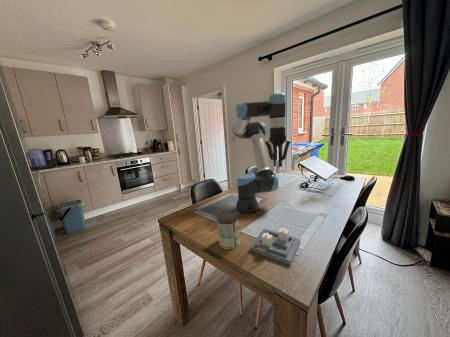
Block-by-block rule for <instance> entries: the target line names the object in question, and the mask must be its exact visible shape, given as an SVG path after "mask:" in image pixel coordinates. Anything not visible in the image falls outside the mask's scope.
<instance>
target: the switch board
mask: <svg viewBox="0 0 450 337" xmlns="http://www.w3.org/2000/svg"><path fill="white" fill-rule="evenodd" d="M267 232H268V233H269V234H270V235H273V245H272V247H268V246H265V245H262V238H261V236H262V235H263V233H267ZM300 244H301V238H298V237H295V236H291V235H289V241H288V242H286V241H283V240H280V239H278V231H277V232H276V231H273V230H270V229H266V228H263V230H262V231H261V232H260V233H259V235H258V236H257V237H256V238H255V239H254V240H253V242H252V243H251V244H250V246H249V251H251V252H253V253H255V254H258V255H260V256H263V257H266V258H269V259H272V260H274V261H277V262H280V263H282V264H285V265H287V266H291V265H292V263H293V261H294V259H295V257H296V254H297V252H298V249H299V247H300Z"/></svg>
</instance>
